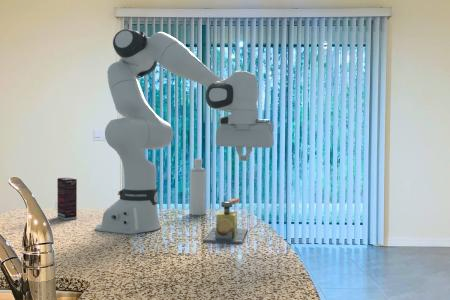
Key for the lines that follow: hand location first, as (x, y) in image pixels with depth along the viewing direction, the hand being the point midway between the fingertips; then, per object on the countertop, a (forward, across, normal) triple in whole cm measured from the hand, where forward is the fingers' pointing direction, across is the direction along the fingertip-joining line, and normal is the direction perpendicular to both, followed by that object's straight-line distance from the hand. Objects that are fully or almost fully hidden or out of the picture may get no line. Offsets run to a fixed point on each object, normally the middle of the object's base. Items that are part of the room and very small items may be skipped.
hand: (243, 160), depth 131 cm
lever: (+15, +3, +3) cm, 15 cm away
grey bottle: (+25, +32, -22) cm, 46 cm away
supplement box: (+26, +72, +12) cm, 77 cm away
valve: (+25, +3, +6) cm, 26 cm away
